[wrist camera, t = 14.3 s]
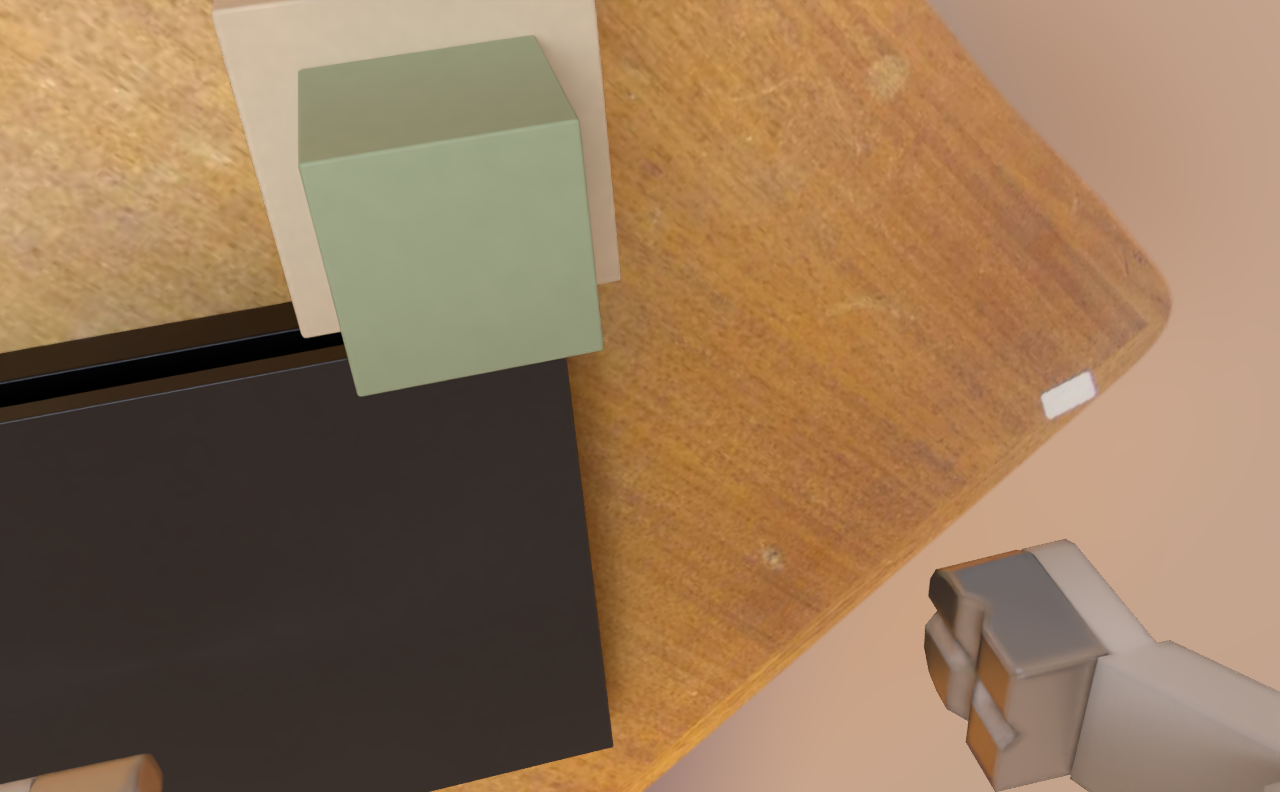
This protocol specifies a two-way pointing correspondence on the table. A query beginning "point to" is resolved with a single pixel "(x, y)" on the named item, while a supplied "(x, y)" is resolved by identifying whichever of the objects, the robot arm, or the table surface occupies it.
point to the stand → (381, 27)
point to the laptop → (154, 353)
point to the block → (449, 212)
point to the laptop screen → (298, 580)
